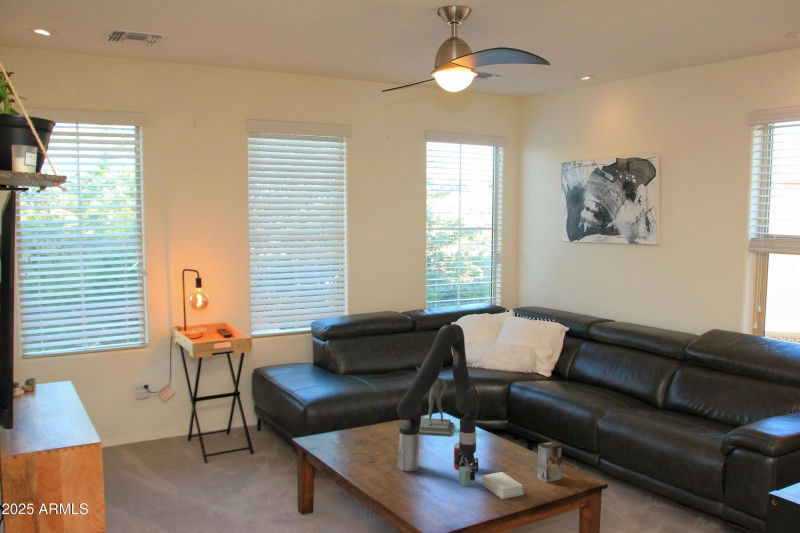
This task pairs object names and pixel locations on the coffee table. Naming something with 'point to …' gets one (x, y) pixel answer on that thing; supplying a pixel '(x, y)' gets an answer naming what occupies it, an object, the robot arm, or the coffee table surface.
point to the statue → (439, 425)
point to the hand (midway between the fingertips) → (467, 476)
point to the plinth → (502, 485)
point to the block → (465, 476)
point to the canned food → (456, 464)
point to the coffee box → (549, 461)
